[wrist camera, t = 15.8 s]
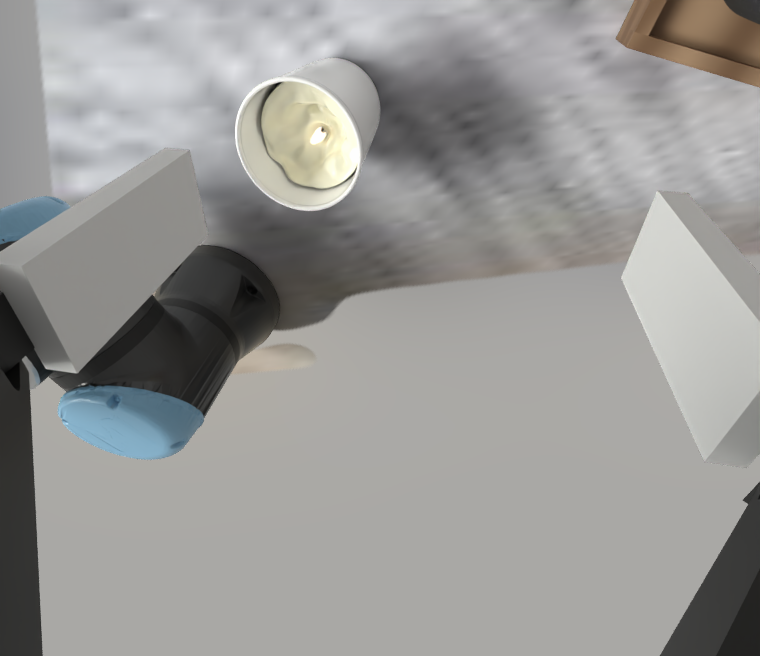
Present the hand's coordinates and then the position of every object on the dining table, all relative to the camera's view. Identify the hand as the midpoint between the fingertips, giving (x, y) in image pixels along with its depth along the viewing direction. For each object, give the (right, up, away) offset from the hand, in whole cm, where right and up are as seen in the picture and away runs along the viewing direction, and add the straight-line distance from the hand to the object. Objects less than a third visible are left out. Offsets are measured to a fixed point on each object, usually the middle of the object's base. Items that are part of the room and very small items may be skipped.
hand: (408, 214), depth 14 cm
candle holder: (-5, +18, +30) cm, 35 cm away
